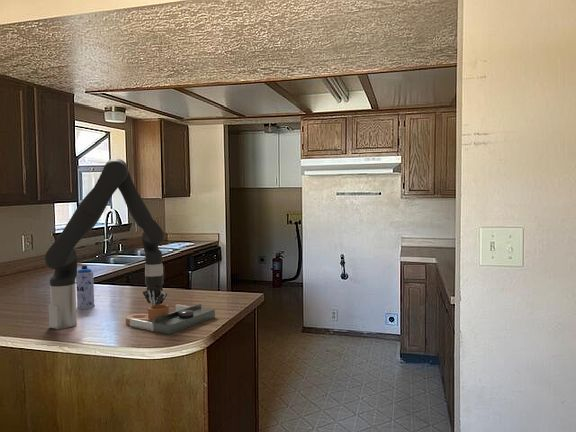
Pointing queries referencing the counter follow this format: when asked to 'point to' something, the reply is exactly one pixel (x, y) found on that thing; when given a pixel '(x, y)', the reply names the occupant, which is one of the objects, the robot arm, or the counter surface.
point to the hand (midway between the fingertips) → (155, 313)
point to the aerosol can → (85, 288)
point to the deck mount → (176, 319)
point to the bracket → (150, 313)
